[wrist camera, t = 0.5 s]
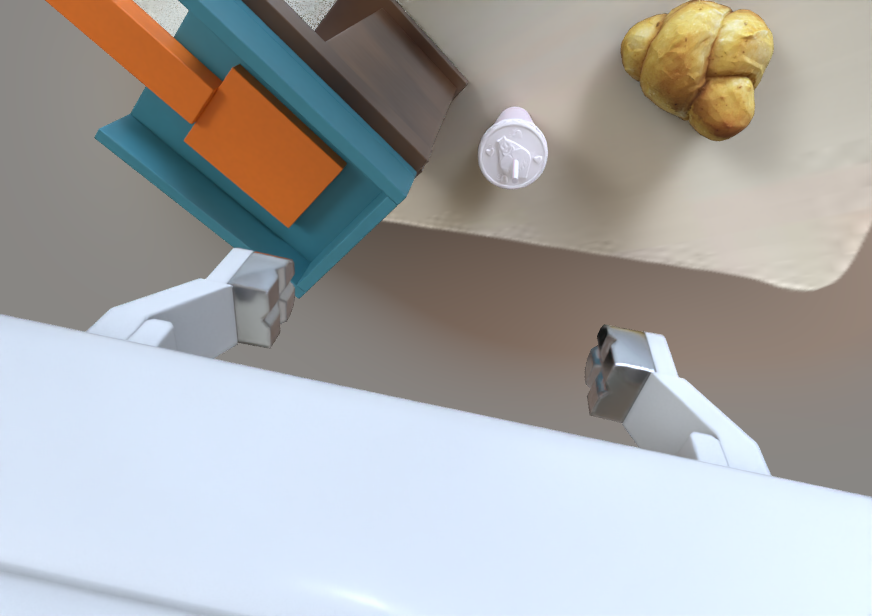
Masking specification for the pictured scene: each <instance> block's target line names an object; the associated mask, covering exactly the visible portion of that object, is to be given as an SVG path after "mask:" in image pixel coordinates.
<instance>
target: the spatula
mask: <svg viewBox="0 0 872 616" xmlns="http://www.w3.org/2000/svg"><path fill="white" fill-rule="evenodd" d="M45 1H47V2H48V3H49V4H50V5H51V6H52V7H54V8H55V9H56V10H57V11H58V12H60V13H61V14H62V15H63V16H64V17H65V18H67V19H68V20H69V21H70V22H71V23H73V24H74V25H75V26H76V27H77V28H78V29H79V30H81V31H82V32H83V33H84V34H85V35H86V36H88V37H89V38H90V39H91V40H92V41H94V42H95V43H96V44H97V45H98V46H99V47H101V48H102V49H103V50H104V51H105V52H106V53H108V54H109V55H110V56H111V57H112V58H114V59H115V60H116V61H117V62H118V63H119V64H121V65H122V66H123V67H124V68H125V69H127V70H128V71H129V72H130V73H131V74H132V75H133V76H135V77H136V78H137V79H138V80H139V81H141V82H142V83H143V84H144V85H145V86H146V87H148V88H149V89H150V90H151V91H152V92H153V93H155V94H156V95H157V96H158V97H159V98H161V99H162V100H163V101H164V102H165V103H166V104H168V105H169V106H170V107H171V108H172V109H173V110H175V111H176V112H177V113H178V114H179V115H180V116H182V117H183V118H184V119H185V120H186V121H188V122H189V123H190V124H193V123H194V122H196V123H195V124H194V126H193V127H192V129H191V130H190V132H189V133H188V135H187V136H186V138H185V139H184V142H185V143H187V144H188V145H189V146H190V147H191V148H193V149H194V150H195V151H196V152H197V153H199V154H200V155H201V156H202V157H203V158H205V159H206V160H207V161H208V162H209V163H211V164H212V165H213V166H214V167H215V168H217V169H218V170H219V171H220V172H221V173H223V174H224V175H225V176H226V177H227V178H229V179H230V180H231V181H232V182H233V183H235V184H236V185H237V186H238V187H239V188H241V189H242V190H243V191H244V192H245V193H247V194H248V195H249V196H250V197H251V198H253V199H254V200H255V201H256V202H257V203H259V204H260V205H261V206H262V207H263V208H265V209H266V210H267V211H268V212H269V213H271V214H272V215H273V216H274V217H275V218H276V219H278V220H279V221H280V222H281V223H282V224H284V225H285V226H286V227H287V228H290V226H291V225H292V224H293V223H294V222H295V221H296V220H297V219H298V218H299V217H300V216H301V214H302V213H303V212H304V211H305V210H306V209H307V208H308V207H309V206H310V205H311V204H312V203H313V201H314V200H315V199H316V198H317V197H318V196H319V195H320V194H321V193H322V192H323V191H324V190H325V188H326V187H327V186H328V185H329V184H330V183H331V182H332V181H333V180H334V179H335V178H336V176H337V175H338V174H339V173H340V172H341V171H342V170H343V169H344V167H345V166H346V165H347V163H346V162H345V161H344V160H343V159H342V158H341V157H340V156H339V155H338V154H336V153H335V152H334V151H333V150H332V149H331V148H330V147H329V146H328V145H327V144H326V143H325V142H324V141H322V140H321V139H320V138H319V137H318V136H317V135H316V134H315V133H314V132H313V131H312V130H311V129H310V128H308V127H307V126H306V125H305V124H304V123H303V122H302V121H301V120H300V119H299V118H298V117H297V116H296V115H294V114H293V113H292V112H291V111H290V110H289V109H288V108H287V107H286V106H285V105H284V104H283V103H282V102H280V101H279V100H278V99H277V98H276V97H275V96H274V95H273V94H272V93H271V92H270V91H269V90H268V89H266V88H265V87H264V86H263V85H262V84H261V83H260V82H259V81H258V80H257V79H256V78H255V77H254V76H252V75H251V74H250V73H249V72H248V71H247V70H246V69H245V68H244V67H243V66H242V65H241V64H238V65H236V66H234V67H232V69H231V70H230V72H229V73H228V75H227V76H226V78H225V79H224V81H223V82H222V81H221V80H220V79H219V78H218V77H217V76H216V75H215V74H213V73H212V72H211V71H210V70H209V69H208V68H207V67H206V66H205V65H203V64H202V63H201V62H200V61H199V60H198V59H197V58H196V57H195V56H194V55H192V54H191V53H190V52H189V51H188V50H187V49H186V48H185V47H184V46H182V45H181V44H180V43H179V42H178V41H177V40H176V39H175V38H174V37H172V36H171V35H170V34H169V33H168V32H167V31H166V30H165V29H164V28H162V27H161V26H160V25H159V24H158V23H157V22H156V21H155V20H154V19H153V18H151V17H150V16H149V15H148V14H147V13H146V12H145V11H144V10H143V9H141V8H140V7H139V6H138V5H137V4H136V3H135V2H134V1H133V0H45Z"/></svg>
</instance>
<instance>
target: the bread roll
mask: <svg viewBox="0 0 872 616" xmlns="http://www.w3.org/2000/svg"><path fill="white" fill-rule="evenodd" d="M773 50H774V47H773V36H772V33H771V31H770V29H768V27H767V25H766V24H765V22H764V21H763V19H762V18H761V17H760V16H759V15H757V14H755V13H754V12H752V11H750V10H743V9H740V10H737V11H734V12H733V11H732V10H731V8H729V7H727V6H724V5H721V4H717V3H715V2H711V1H704V0H691V1H689V2H686V3H684V4H682V5H680V6H678V7H676V8H674V9H672V10H671V11H670V13H669V14H658V15H655V16H652V17H650V18H647V19H645V20H643V21H641V22H639V23H637V24H635V25H634V26H633V27H632V28H630V30H629V31H628V32H627V34H626V35H625V37H624V39H623V41H622V44H621V58H622V63H623V66H624V68H625V71H626V72H627V73H628V74H629V75H630V76H631V77H632V78H633V79H635V80H637V81H640V86H641V88H642V91H643V93H644V95H645V96H646V97H647V98H648V99H650V100H651V101H652V102H653V103H654V104H655V105H657V106H658V107H660V108H661V109H663V110H665V111H666V112H668V113H671V114H673V115H675V116H678V117H679V118H681V119H682V120H689V123H690V124H691V126H692V127H693V128H694V129H695V130H696V131H697V132H698V133H699V134H700V135H702V136H704V137H706V138H708V139H710V140H713V141H723V140H727V139H729V138H731V137H733V136H735V135H736V134H738V133H739V132H741V131H742V130H743V129H745V128H746V127H747V126H748V124H749V123H750V121H751V119H752V118H753V116H754V109H755V102H754V90H755V88H756V87H757V85H758V84H759V83H760V81H761V78H762V76H763V73H764V71H765V69H766V67H767V66H768V64H769V62H770V59H771V57H772V54H773Z"/></svg>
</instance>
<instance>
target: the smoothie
mask: <svg viewBox="0 0 872 616" xmlns="http://www.w3.org/2000/svg"><path fill="white" fill-rule="evenodd" d="M547 155H548V148H547V142H546V139H545V137H544V135H543V133H542V132H541V131H540V130H539V128H538V127H536V126H535V125H534V123H533V121H532V119H531V117H530V115H529V113H528V112H527V111H526V110H524V109H523V108H520V107H510V108H507V109H505V110H504V111H503V112H502V113H501V114H500V115H499V117H498V118H497V120H496V122H495V123H494V125H492V126H491V127H490V128H489V129H488V130H487V131H486V132H485V134H484V135H483V137H482V138H481V141H480V144H479V146H478V163H479V167H480V170H481V172H482V173H483V175H484V176H485V178H486V179H487V180H488V181H489V182H491V183H492V184H494V185H495V186H497V187H500V188H504V189H519V188H523V187H526V186H528V185H530V184H531V183H533V182H534V181H535V180H536V179H537V178H538V177H539V176H540V175H541V174H542V172H543V170H544V168H545V166H546V162H547Z"/></svg>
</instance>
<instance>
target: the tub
mask: <svg viewBox="0 0 872 616" xmlns="http://www.w3.org/2000/svg"><path fill="white" fill-rule="evenodd" d="M178 1H180V2H181V3H182V4H183V5H184V6H185V7H186V8H187V9H188V10H189V11H188V13H187V15H186V17H185V18H184V20H183V22H182V24H181V26H180V27H179V29H178V31H177V33H176V34H175V36H174V38H175V39H176V40H177V41H178V42H179V43H180V44H181V45H182V46H184V47H185V48H186V49H187V50H188V51H189V52H190V53H191V54H192V55H194V56H195V57H196V58H197V59H198V60H199V61H200V62H201V63H202V64H203V65H205V66H206V67H207V68H208V69H209V70H210V71H211V72H212V73H213V74H215V75H216V76H217V77H218V78H219V79H220V80H221V81H222V82H223V81H224V79H225V78H226V76H227V75H228V73H229V72H230V70H231V69H232V67H234V66H236V65H238V64H241V65H242V66H243V67H244V68H245V69H246V70H247V71H248V72H249V73H250V74H251V75H252V76H254V77H255V78H256V79H257V80H258V81H259V82H260V83H261V84H262V85H263V86H264V87H265V88H266V89H268V90H269V91H270V92H271V93H272V94H273V95H274V96H275V97H276V98H277V99H278V100H279V101H280V102H282V103H283V104H284V105H285V106H286V107H287V108H288V109H289V110H290V111H291V112H292V113H293V114H294V115H296V116H297V117H298V118H299V119H300V120H301V121H302V122H303V123H304V124H305V125H306V126H307V127H308V128H310V129H311V130H312V131H313V132H314V133H315V134H316V135H317V136H318V137H319V138H320V139H321V140H322V141H324V142H325V143H326V144H327V145H328V146H329V147H330V148H331V149H332V150H333V151H334V152H335V153H336V154H338V155H339V156H340V157H341V158H342V159H343V160H344V161H345V162H346V163H347V165H346V166H345V167H344V169H343V170H342V171H341V172H340V173H339V174H338V175H337V176H336V178H335V179H334V180H333V181H332V182H331V183H330V184H329V185H328V186H327V187H326V188H325V190H324V191H323V192H322V193H321V194H320V195H319V196H318V197H317V198H316V199H315V200H314V201H313V203H312V204H311V205H310V206H309V207H308V208H307V209H306V210H305V211H304V212H303V213H302V214H301V216H300V217H299V218H298V219H297V220H296V221H295V222H294V223H293V224H292V225H291V226H290V228H287V227H286V226H285V225H284V224H282V223H281V222H280V221H279V220H278V219H276V218H275V217H274V216H273V215H272V214H271V213H269V212H268V211H267V210H266V209H265V208H263V207H262V206H261V205H260V204H259V203H257V202H256V201H255V200H254V199H253V198H251V197H250V196H249V195H248V194H247V193H245V192H244V191H243V190H242V189H241V188H239V187H238V186H237V185H236V184H235V183H233V182H232V181H231V180H230V179H229V178H227V177H226V176H225V175H224V174H223V173H221V172H220V171H219V170H218V169H217V168H215V167H214V166H213V165H212V164H211V163H209V162H208V161H207V160H206V159H205V158H203V157H202V156H201V155H200V154H199V153H197V152H196V151H195V150H194V149H193V148H191V147H190V146H189V145H188V144H187V143H185V142H184V139H185V138H186V136H187V135H188V133H189V132H190V130H191V129H192V127H193V126H194V124H195V123H196V122H194V123H193V124H190V123H189V122H188V121H186V120H185V119H184V118H183V117H182V116H180V115H179V114H178V113H177V112H176V111H175V110H173V109H172V108H171V107H170V106H169V105H168V104H166V103H165V102H164V101H163V100H162V99H161V98H159V97H158V96H157V95H156V94H155V93H153V92H152V91H151V90H150V89H149V88H148V87H145V89H144V90H143V92H142V94H141V96H140V98H139V99H138V101H137V103H136V105H135V106H134V108H133V110H132V112H131V113H130V114H129V115H127V116H125V117H123V118H121V119H119V120H116V121H114V122H112V123H110V124H108V125H106V126H104V127H102V128H100V129H99V130H98V132H97V134H96V135H95V139H96V140H98V141H99V142H100V143H101V144H103V145H104V146H105V147H107V148H108V149H109V150H110V151H112V152H113V153H114V154H115V155H117V156H118V157H119V158H121V159H122V160H123V161H124V162H126V163H127V164H128V165H129V166H131V167H132V168H133V169H134V170H136V171H137V172H138V173H140V174H141V175H142V176H143V177H145V178H146V179H147V180H149V181H150V182H151V183H152V184H154V185H155V186H156V187H157V188H159V189H160V190H161V191H162V192H164V193H165V194H166V195H168V196H169V197H170V198H171V199H173V200H174V201H175V202H176V203H178V204H179V205H180V206H182V207H183V208H184V209H185V210H187V211H188V212H189V213H190V214H192V215H193V216H194V217H196V218H197V219H198V220H199V221H201V222H202V223H203V224H204V225H206V226H207V227H208V228H210V229H211V230H212V231H213V232H215V233H216V234H217V235H218V236H220V237H221V238H222V239H224V240H225V241H226V242H227V243H229V244H230V245H231V246H233V247H234V248H237V247H238V248H242V249H247V250H252V251H255V252H256V251H257V252H261V253H265V254H270V255H274V256H279V257H283V258H287V259H292V260H293V262H294V267H295V274H294V276H293V277H292V279H291V281H290V282H291V283H292V284H293V286H294V287H295V296H296V297H297V298H301V297H302V296H303V295H304V294H305V293H306V292H307V291H308V290H309V289H310V288H311V287H312V286H313V285H314V284H315V283H316V282H317V281H319V280H320V278H322V277H323V276H324V275H325V274H326V273H327V272H328V271H329V270H330V269H331V268H332V267H333V266H334V265H335V264H336V263H338V261H340V260H341V259H342V258H343V257H344V256H345V255H346V254H347V253H348V252H349V251H350V250H351V249H352V248H353V247H354V246H355V245H356V244H357V243H359V241H361V240H362V239H363V238H364V237H365V236H366V235H367V234H368V233H369V232H370V231H371V230H372V229H373V228H374V227H375V226H376V225H377V224H379V223H380V222H381V221H382V220H383V219H384V218H385V217H386V216H387V215H388V214H389V213H390V212H391V211H392V210H393V209H394V208H395V207H397V205H398V204H400V203H401V202H402V201H403V200H404V199H405V198H406V197H407V194H408V192H409V190H410V188H411V185H412V183H413V181H414V178H415V176H416V173H417V172H416V171H415V170H414V169H413V168H412V167H411V166H410V165H409V164H408V163H407V162H406V161H405V160H404V159H403V158H402V157H401V156H400V155H399V154H398V153H397V152H396V151H395V150H394V149H393V148H392V147H391V146H390V145H389V144H388V143H387V142H386V141H385V140H384V139H383V138H382V137H381V136H380V135H379V134H378V133H377V132H376V131H374V130H373V129H372V128H371V127H370V126H369V125H368V124H367V123H366V122H365V121H364V120H363V119H362V118H361V117H360V116H359V115H358V114H357V113H356V112H355V111H354V110H353V109H352V108H351V107H350V106H349V105H348V104H347V103H346V102H345V101H344V100H343V99H342V98H341V97H340V96H339V95H338V94H337V93H336V92H335V91H334V90H333V89H331V88H330V87H329V86H328V85H327V84H326V83H325V82H324V81H323V80H322V79H321V78H320V77H319V76H318V75H317V74H316V73H315V72H314V71H313V70H312V69H311V68H310V67H309V66H308V65H307V64H306V63H305V62H304V61H303V60H302V59H301V58H300V57H299V56H298V55H297V54H296V53H295V52H294V51H293V50H292V49H291V48H290V47H289V46H287V45H286V44H285V43H284V42H283V41H282V40H281V39H280V38H279V37H278V36H277V35H276V34H275V33H274V32H273V31H272V30H271V29H270V28H269V27H268V26H267V25H266V24H265V23H264V22H263V21H262V20H261V19H260V18H259V17H258V16H257V15H256V14H255V13H254V12H253V11H252V10H251V9H250V8H249V7H248V6H247V5H246V4H244V3H243V2H242V1H241V0H178Z"/></svg>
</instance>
